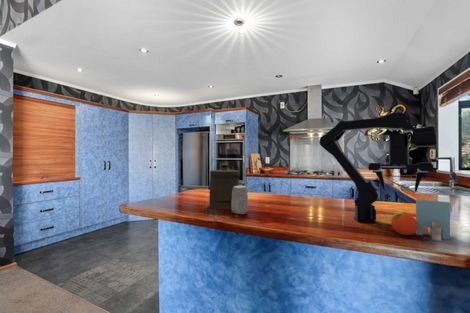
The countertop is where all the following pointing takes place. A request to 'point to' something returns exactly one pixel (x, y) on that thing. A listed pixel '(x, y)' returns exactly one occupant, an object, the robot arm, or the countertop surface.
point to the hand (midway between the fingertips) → (399, 190)
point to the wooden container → (222, 187)
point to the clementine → (404, 223)
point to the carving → (239, 199)
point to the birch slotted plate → (435, 231)
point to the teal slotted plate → (433, 216)
